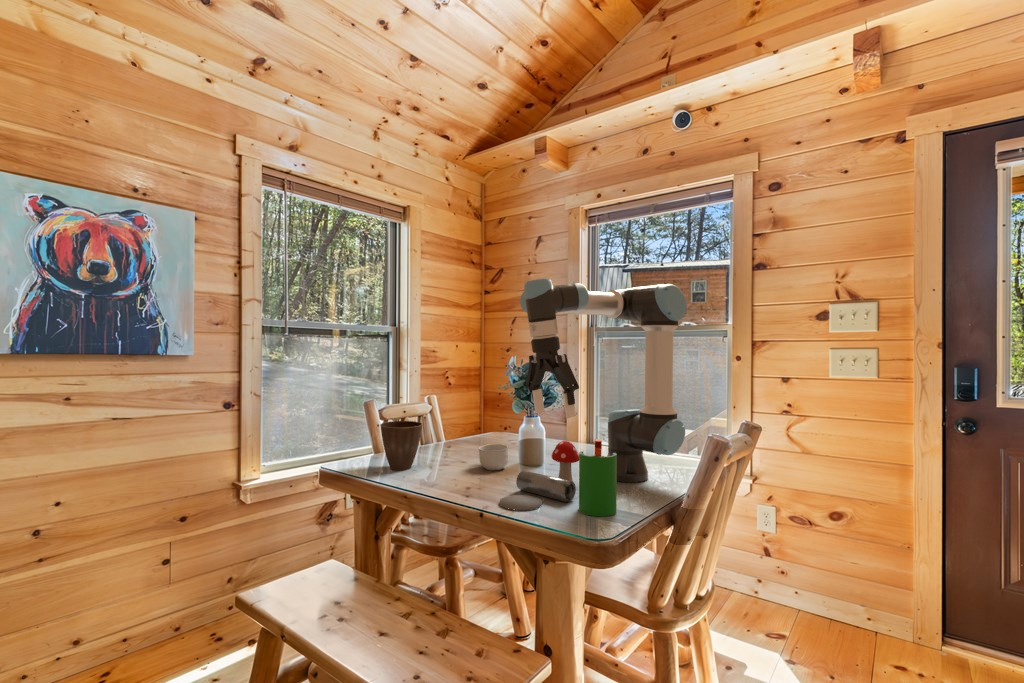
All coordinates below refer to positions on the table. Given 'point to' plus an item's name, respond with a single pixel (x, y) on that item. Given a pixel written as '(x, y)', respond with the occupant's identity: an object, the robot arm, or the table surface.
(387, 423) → the plant pot
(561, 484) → the metal pipe
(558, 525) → the table surface
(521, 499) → the rubber mat
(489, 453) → the teacup
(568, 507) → the table surface
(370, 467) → the table surface
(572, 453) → the decorative mushroom
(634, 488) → the table surface
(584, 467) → the motor
